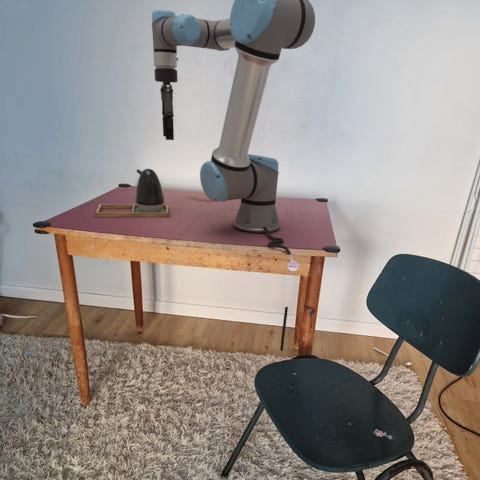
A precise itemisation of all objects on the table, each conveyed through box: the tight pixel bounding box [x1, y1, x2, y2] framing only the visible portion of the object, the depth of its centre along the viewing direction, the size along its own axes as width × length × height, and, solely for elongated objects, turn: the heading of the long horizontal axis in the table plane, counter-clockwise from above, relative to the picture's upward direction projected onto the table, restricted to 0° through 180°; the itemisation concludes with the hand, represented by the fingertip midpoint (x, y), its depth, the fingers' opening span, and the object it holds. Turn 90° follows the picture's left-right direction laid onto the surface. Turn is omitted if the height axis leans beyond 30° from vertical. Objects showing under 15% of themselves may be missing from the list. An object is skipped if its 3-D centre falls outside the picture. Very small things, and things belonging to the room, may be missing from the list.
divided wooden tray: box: [95, 203, 170, 218], centre depth 153 cm, size 13×25×2 cm, turn 100°
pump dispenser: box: [135, 168, 165, 212], centre depth 151 cm, size 10×10×15 cm
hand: (168, 138), depth 148 cm, fingers open, 13 cm apart
